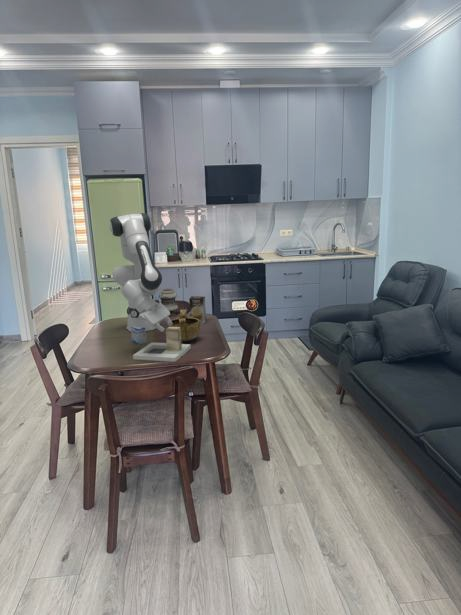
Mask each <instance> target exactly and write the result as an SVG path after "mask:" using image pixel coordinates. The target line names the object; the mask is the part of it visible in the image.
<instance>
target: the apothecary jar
mask: <svg viewBox="0 0 461 615" xmlns="http://www.w3.org/2000/svg"><path fill="white" fill-rule="evenodd" d="M176 297H177V293H176V292H175V290H174V288H163V289H161V291H160V293H159V294H158V298H159V300H160V302H161V303H160V304H163V305H164V306H165V307H166V308H167V309H168V310H169V312H170V316H169V318H173V317H176V316H177V314H176V313H175V311H177V310H178V309H179V306H178V305H177V303H176Z"/></svg>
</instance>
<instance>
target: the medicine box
mask: <svg viewBox="0 0 461 615" xmlns="http://www.w3.org/2000/svg"><path fill="white" fill-rule="evenodd" d="M146 332H147V331H145V328H144V327H141V326H132V327H131V335H130V336H131V342H132V343H134V344H137V345H144V344H147V333H146Z"/></svg>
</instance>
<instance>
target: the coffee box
mask: <svg viewBox="0 0 461 615" xmlns="http://www.w3.org/2000/svg"><path fill="white" fill-rule="evenodd" d="M188 300H189V316H190V317H189V318H197V319H199V322H200V324H205V323H206V321H207V316H206V315H207V310H206V296H190V297H189V299H188Z"/></svg>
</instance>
